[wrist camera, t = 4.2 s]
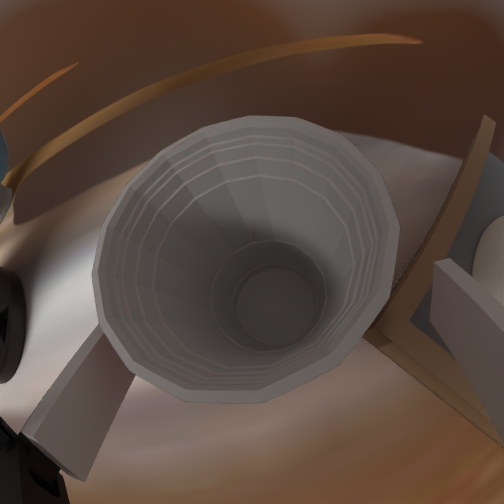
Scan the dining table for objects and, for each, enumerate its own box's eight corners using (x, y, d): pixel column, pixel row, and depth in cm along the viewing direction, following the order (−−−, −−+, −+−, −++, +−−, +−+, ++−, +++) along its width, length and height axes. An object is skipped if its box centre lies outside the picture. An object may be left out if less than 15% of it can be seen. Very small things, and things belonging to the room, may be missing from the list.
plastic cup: (285, 206, 22) (253, 74, 11) (384, 310, 18) (465, 231, 7) (173, 292, 21) (59, 219, 11) (257, 413, 17) (173, 471, 6)
